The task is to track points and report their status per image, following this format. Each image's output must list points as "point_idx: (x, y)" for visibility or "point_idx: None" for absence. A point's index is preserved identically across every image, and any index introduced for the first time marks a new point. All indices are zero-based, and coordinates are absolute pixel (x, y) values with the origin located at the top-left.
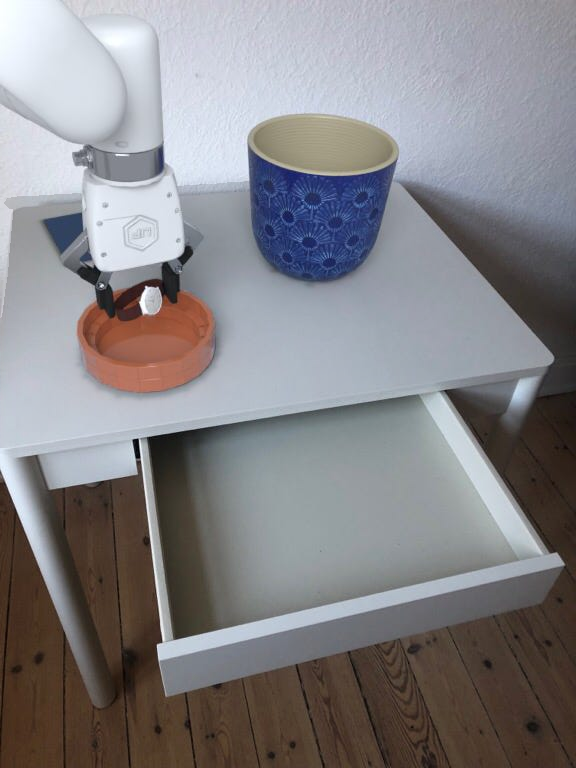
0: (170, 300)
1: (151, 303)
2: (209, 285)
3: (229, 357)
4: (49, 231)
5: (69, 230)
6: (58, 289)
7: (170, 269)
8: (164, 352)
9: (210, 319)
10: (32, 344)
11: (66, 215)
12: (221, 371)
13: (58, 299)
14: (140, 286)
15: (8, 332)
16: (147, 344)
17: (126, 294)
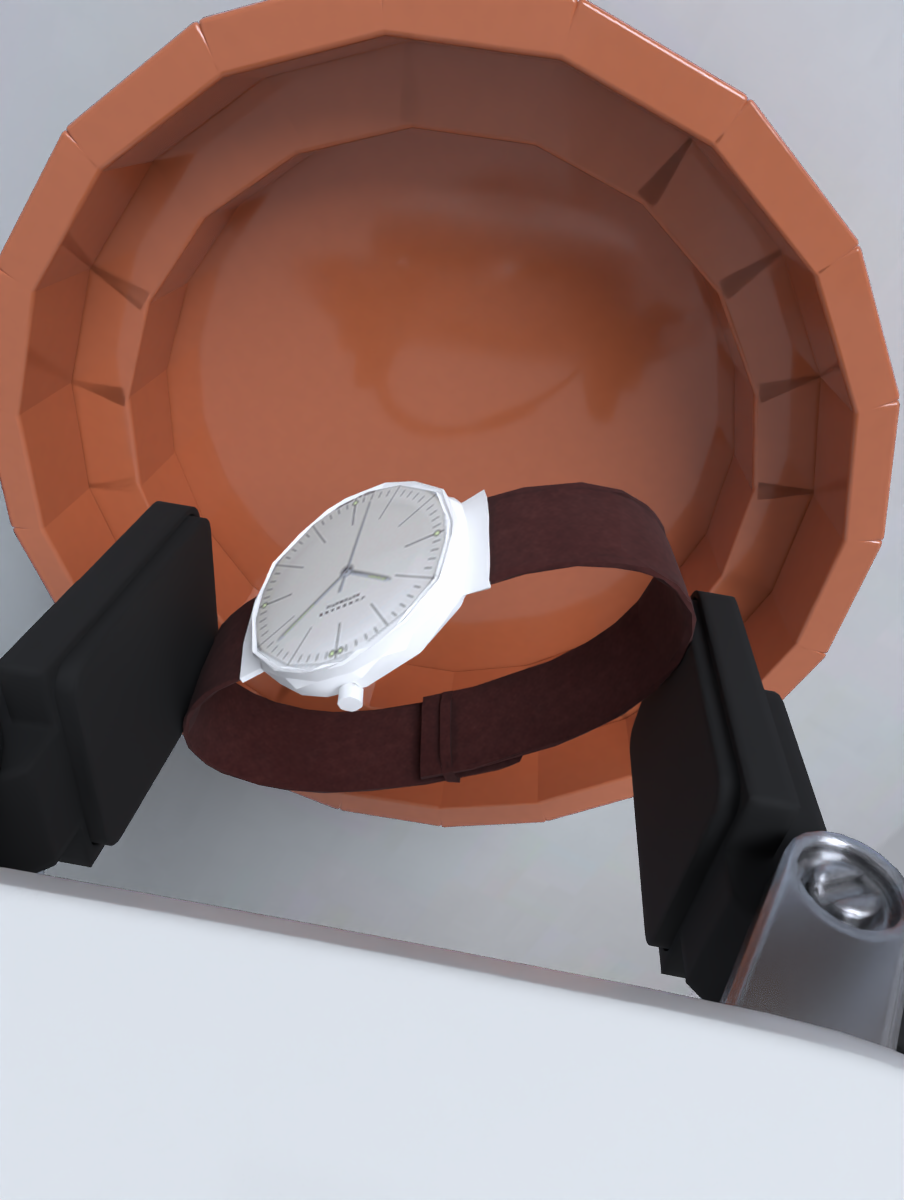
0: (202, 540)
1: (371, 555)
2: None
3: (48, 128)
4: None
5: None
6: (573, 928)
7: (21, 759)
8: (389, 371)
9: (10, 341)
10: (855, 749)
11: None
12: (136, 17)
13: (604, 892)
14: (350, 766)
15: (875, 842)
16: (440, 479)
17: (480, 746)
